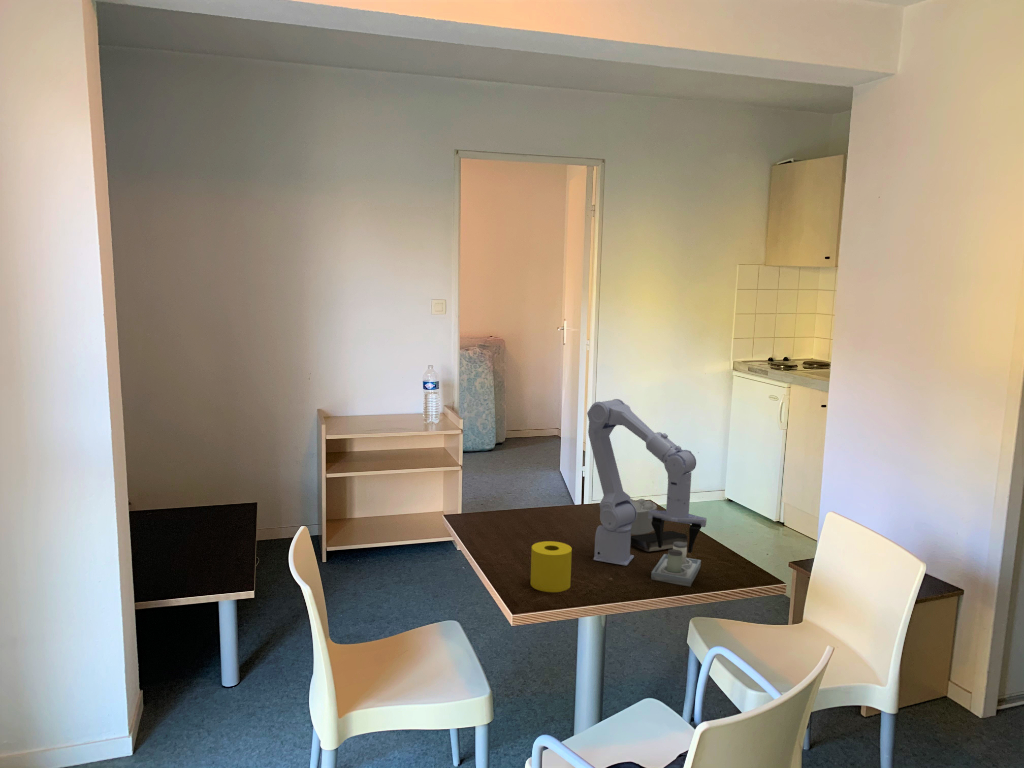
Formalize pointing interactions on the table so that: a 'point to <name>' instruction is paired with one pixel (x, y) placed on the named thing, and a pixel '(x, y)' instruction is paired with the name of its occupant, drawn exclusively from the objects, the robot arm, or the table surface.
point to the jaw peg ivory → (683, 548)
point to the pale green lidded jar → (674, 561)
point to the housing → (681, 578)
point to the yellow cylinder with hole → (551, 566)
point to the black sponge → (651, 543)
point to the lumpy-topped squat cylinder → (642, 517)
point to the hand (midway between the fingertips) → (675, 549)
